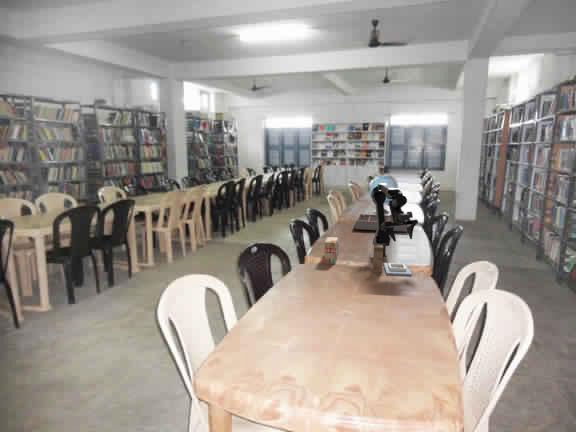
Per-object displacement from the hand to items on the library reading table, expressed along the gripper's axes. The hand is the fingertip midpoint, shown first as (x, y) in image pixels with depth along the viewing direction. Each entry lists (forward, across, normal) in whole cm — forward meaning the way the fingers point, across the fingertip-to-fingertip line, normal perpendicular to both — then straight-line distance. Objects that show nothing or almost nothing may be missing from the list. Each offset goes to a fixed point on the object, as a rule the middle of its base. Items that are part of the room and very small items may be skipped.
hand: (403, 240), depth 200 cm
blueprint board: (+14, -3, +8) cm, 16 cm away
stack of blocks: (0, -28, +33) cm, 44 cm away
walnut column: (+13, -14, +9) cm, 20 cm away
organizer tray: (-29, +41, +99) cm, 111 cm away
